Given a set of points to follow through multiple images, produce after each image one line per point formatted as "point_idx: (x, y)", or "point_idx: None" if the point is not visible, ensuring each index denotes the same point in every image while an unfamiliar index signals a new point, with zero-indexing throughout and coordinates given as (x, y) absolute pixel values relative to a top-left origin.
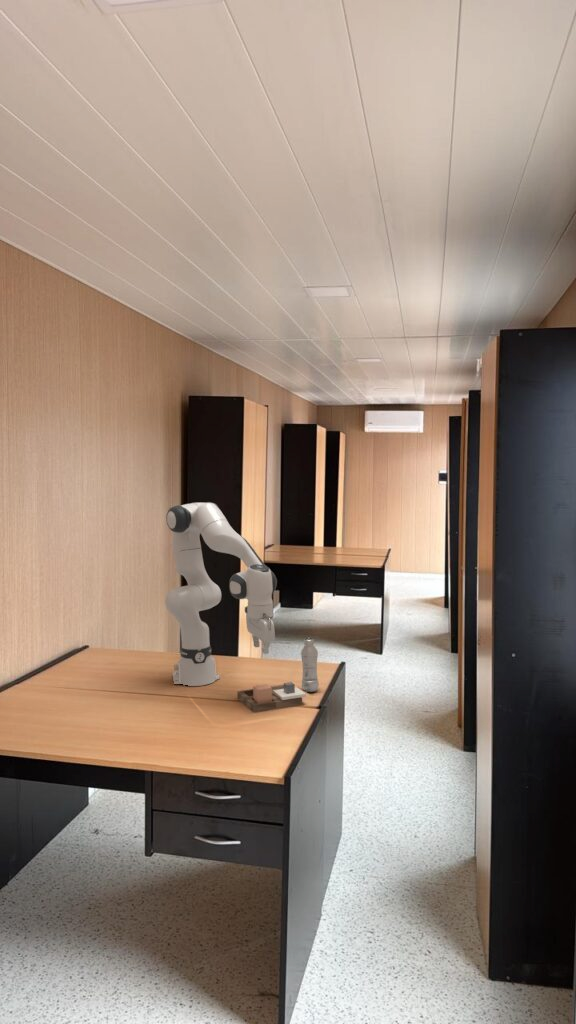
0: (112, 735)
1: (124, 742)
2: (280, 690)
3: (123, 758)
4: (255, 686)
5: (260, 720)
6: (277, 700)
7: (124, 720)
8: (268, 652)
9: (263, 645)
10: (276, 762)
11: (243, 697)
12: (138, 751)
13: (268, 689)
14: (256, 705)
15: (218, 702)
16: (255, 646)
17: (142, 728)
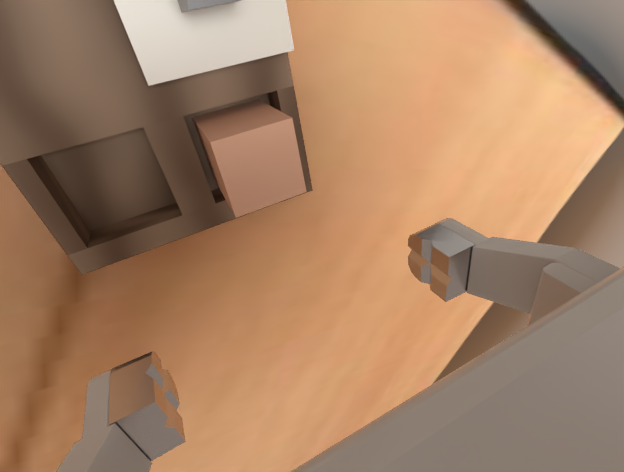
0: (335, 435)
1: (374, 404)
2: (155, 32)
3: (435, 376)
4: (245, 205)
5: (349, 153)
6: (272, 74)
7: (254, 461)
8: (451, 218)
9: (523, 309)
10: (584, 128)
11: (183, 235)
12: (420, 369)
13: (292, 134)
14: (308, 177)
15: (111, 316)
16: (175, 391)
17: (314, 411)
